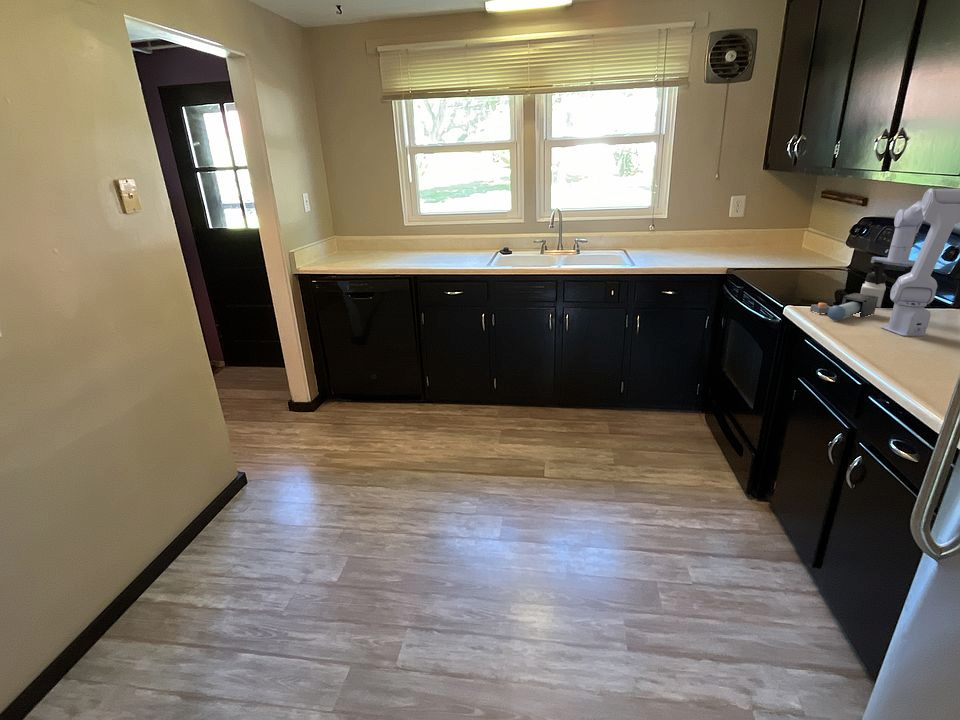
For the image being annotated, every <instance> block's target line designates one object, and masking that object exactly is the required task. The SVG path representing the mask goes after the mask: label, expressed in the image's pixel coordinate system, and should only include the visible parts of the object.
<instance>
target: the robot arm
mask: <svg viewBox="0 0 960 720" xmlns="http://www.w3.org/2000/svg"><path fill="white" fill-rule="evenodd" d="M893 222H894V223H893V224H894V233H893V236H892V240H891V243H890V247H889V251H888V255H887V257H882V256H881V257H880V256H872V257H871V260H870V264H872V265H871V267H872V269H873V273H875V284H876V285H878V284H880V283H881V279H882V275H883V274H884V271H885V270H886V266H887V265H889V266H897V267H906V268H904V274H903V275H901V276H898V278H897V279H896V281H895V282H894V284H893V285H892V287H891V289H890V295H889V297H890V300H891V301H892V302H893V303H894V304H893V308H892V312H891V314H890V319H889V322H888V325H880V328H881V329H885V330H886V331H890V332H891V333H893V334H897V335H900V336H901V337H914V336H915V337H916V336H917V337H919V336H921V337H922V336H928V333H926V332H927V329H928V326H929V323H930V320H931V312H930V311H929V310H928V309H926V308H925V307H927V305H929V304H931V303H932V302H933V301H934V300H935V297H936V293H937V289H938V283H937V280H936V279H935V278H934V277H932V276H931V275H932V273H933V271H934V269H935V267H936V265H937V263H938V261H939V259H940V256H941V254H942V252H943V250H944V248H945V246H946V243H947V242H948V240H949V238H950V235H951V233H952V232H953V229H954V227H955V226H956V224H959V223H960V188H931V187H930V188H928V189H927V190H926V191H925V192H924V193H923V196H922V198H921V200H917V202H914V204H912V205H911V206H909V207H908V208H907V209H902V208H900V209H899V210H898V211H897V212H896V214H895V216H894V220H893ZM923 222H926V223H928V224H930V228H929V230H928V232H927V235H926V236H925V239H924V242H923V243H922V246H921V248H920V250H919V251H918V254H917V257H916V259H915V260H910V257H911V252H912V248H913V246H914V242H915V238H916V235H917V234H918V232H919V230H920V228H921V226H922V224H923Z"/></svg>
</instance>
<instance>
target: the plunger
mask: <svg viewBox="0 0 960 720" xmlns="http://www.w3.org/2000/svg"><path fill="white" fill-rule="evenodd" d="M826 306H828V303H826V302H818V307H826Z"/></svg>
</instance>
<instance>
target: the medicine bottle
mask: <svg viewBox="0 0 960 720" xmlns="http://www.w3.org/2000/svg"><path fill="white" fill-rule="evenodd" d="M887 278H888V275H886V273H883V275H882V279H881V283H880V284H878V285H876V284H875V273H874V272H868V273H867V274H866V277H865V281H864V283H862V286H861V289H860V293H859V294H865V295H871V296H877V297H879V298H878V301H877V305H876V308H879V309H880V308H881V307H882V304H883V301H884V297H885V294H886V287H887V286H886V281H887Z"/></svg>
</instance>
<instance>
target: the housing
mask: <svg viewBox="0 0 960 720" xmlns="http://www.w3.org/2000/svg"><path fill="white" fill-rule="evenodd" d="M878 298H879V297H877V296H871V295H865V294H860V293H858V292H853V293H849V294H846V295H843V297H842V301H841V305H842V304H846V303H849V302H852V301H860V302H863V305H862V309H861V313H860V317H865V316H868V315H870V316H872V315H871V314H873V315H875V312H876V308H877V307H876V305H877V301H878ZM868 317H869V316H868ZM865 318H866V317H865Z"/></svg>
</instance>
